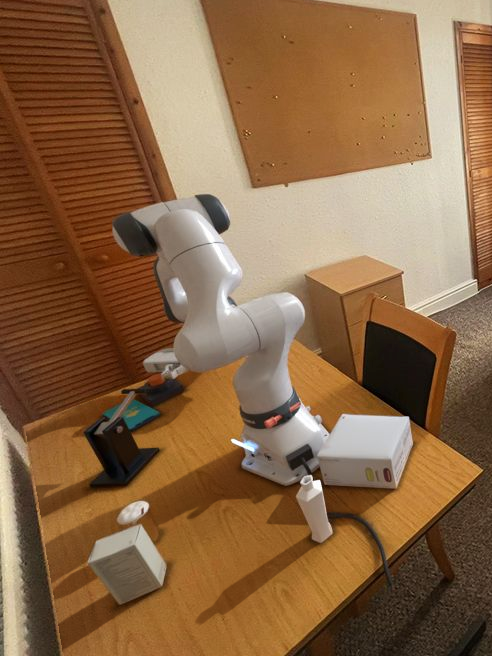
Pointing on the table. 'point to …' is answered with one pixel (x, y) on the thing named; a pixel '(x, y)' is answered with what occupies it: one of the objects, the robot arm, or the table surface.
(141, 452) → the bracket
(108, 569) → the cosmetic box
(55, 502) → the table surface
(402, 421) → the supplement box
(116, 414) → the lever
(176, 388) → the control box
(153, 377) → the button
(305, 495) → the perfume bottle
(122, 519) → the milkshake
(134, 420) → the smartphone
